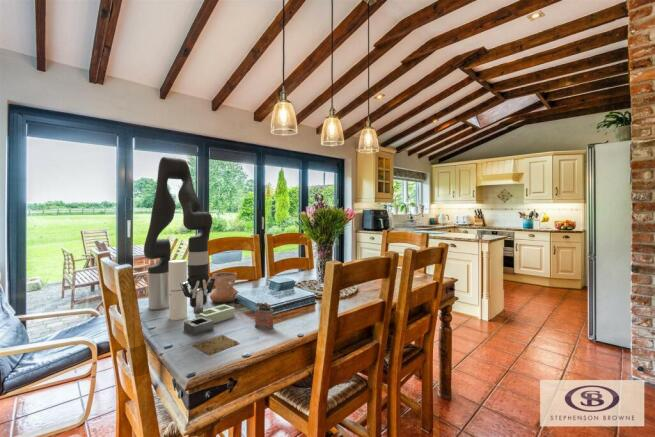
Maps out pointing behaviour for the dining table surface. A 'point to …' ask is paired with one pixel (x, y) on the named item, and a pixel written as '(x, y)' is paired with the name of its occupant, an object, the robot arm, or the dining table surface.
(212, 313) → the rack
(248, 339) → the dining table surface
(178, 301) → the cylindrical container
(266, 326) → the lighter
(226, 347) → the tan flat square slab
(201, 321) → the block
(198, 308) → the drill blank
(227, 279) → the ceramic jug
